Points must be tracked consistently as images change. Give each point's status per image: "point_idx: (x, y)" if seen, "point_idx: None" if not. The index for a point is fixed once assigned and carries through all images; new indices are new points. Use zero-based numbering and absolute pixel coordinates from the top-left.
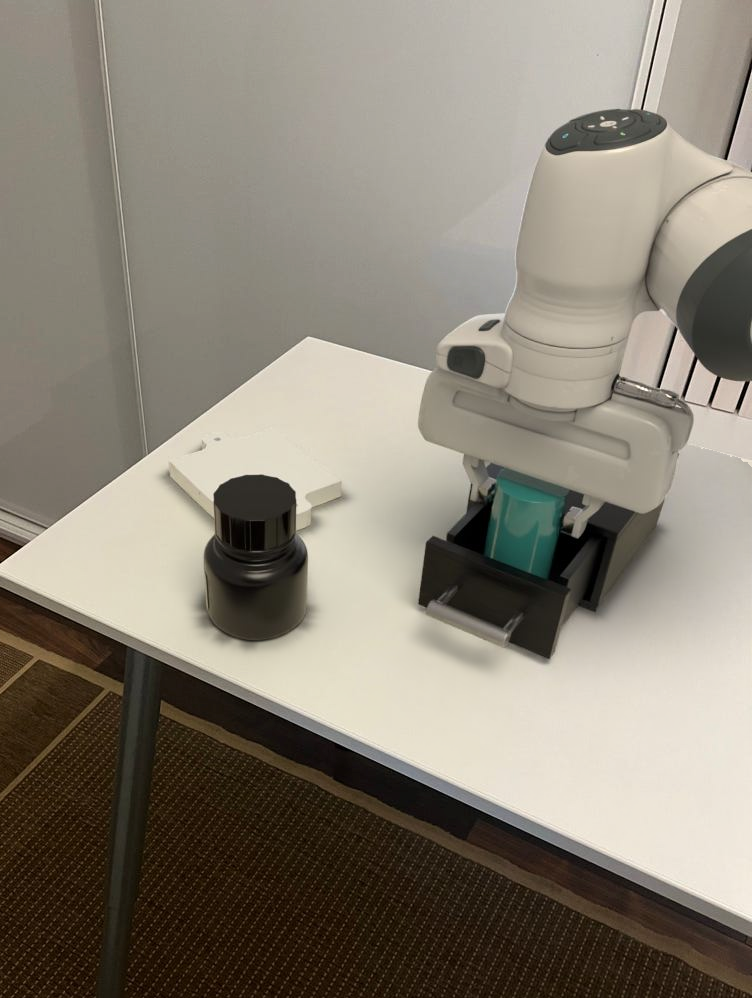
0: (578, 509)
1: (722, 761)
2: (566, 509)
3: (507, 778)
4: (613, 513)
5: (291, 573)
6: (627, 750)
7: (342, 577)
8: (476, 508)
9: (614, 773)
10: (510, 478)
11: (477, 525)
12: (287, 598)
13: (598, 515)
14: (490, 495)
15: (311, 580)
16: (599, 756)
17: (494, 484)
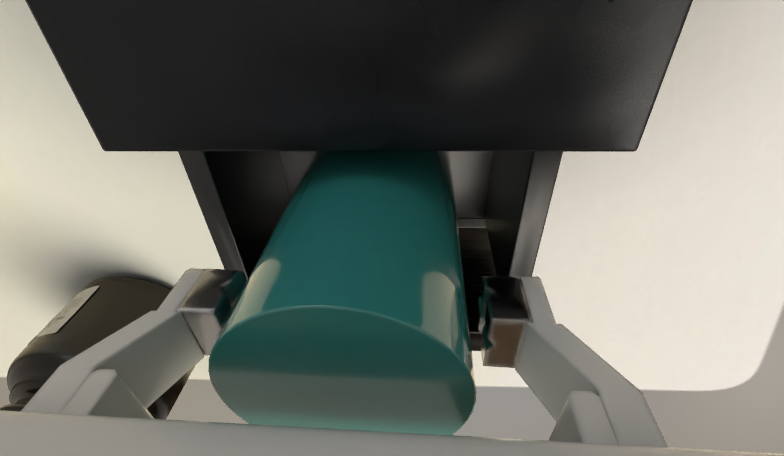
0: (514, 325)
1: (771, 266)
2: (431, 120)
3: (512, 370)
4: (608, 37)
5: (159, 411)
6: (635, 301)
7: (152, 223)
8: (207, 195)
9: (621, 329)
10: (270, 407)
11: (239, 172)
12: (182, 381)
13: (550, 88)
14: (236, 299)
15: (133, 248)
16: (601, 319)
17: (222, 324)
